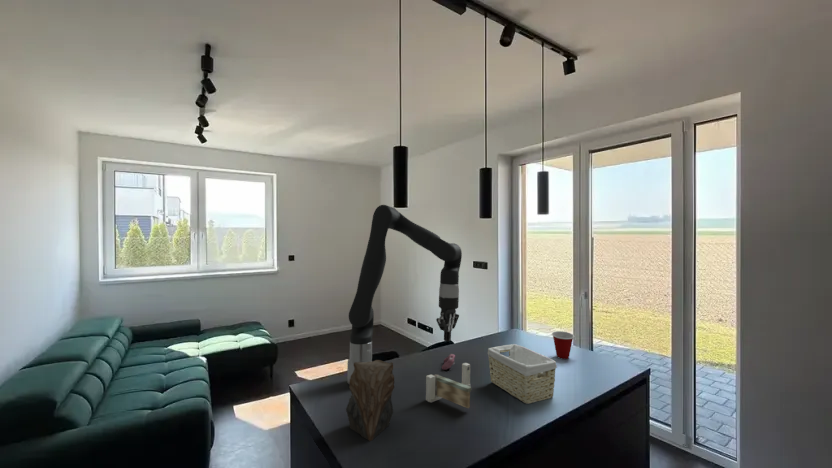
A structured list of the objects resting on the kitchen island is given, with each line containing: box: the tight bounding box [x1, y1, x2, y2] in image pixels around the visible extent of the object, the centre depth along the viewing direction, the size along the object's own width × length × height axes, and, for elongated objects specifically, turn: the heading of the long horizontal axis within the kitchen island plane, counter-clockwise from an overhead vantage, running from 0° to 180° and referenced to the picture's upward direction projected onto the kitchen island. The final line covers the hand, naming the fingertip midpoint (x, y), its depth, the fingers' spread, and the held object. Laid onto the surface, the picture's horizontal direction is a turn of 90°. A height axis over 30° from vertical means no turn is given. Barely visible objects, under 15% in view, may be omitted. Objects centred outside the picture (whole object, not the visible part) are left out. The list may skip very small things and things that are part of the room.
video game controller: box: [441, 353, 456, 371], centre depth 162 cm, size 10×5×7 cm, turn 169°
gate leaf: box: [432, 374, 472, 409], centre depth 125 cm, size 16×2×7 cm, turn 46°
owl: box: [345, 359, 395, 442], centre depth 110 cm, size 13×13×20 cm
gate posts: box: [425, 362, 472, 403], centre depth 134 cm, size 22×3×9 cm, turn 130°
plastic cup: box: [551, 330, 575, 360], centre depth 177 cm, size 11×11×12 cm
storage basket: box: [487, 343, 558, 405], centre depth 138 cm, size 24×16×15 cm
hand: (447, 340), depth 130 cm, fingers closed
